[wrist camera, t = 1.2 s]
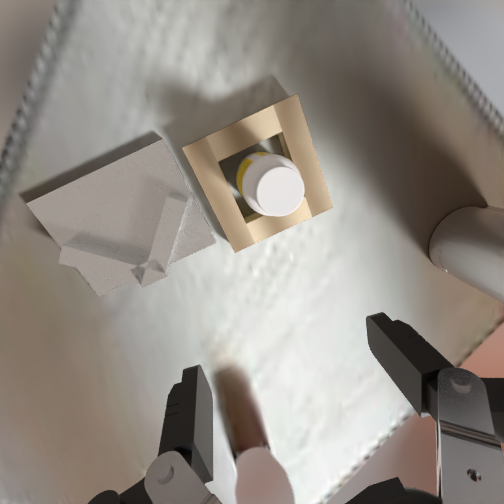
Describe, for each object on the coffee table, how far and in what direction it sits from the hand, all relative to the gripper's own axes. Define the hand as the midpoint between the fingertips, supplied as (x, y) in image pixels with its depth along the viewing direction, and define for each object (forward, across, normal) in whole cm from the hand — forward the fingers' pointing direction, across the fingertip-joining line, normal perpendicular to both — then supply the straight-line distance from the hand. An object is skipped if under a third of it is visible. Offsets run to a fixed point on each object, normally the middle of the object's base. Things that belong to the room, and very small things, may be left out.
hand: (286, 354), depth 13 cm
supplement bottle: (+22, -3, -5) cm, 22 cm away
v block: (+21, +12, -4) cm, 25 cm away
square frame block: (+21, -3, -5) cm, 22 cm away
